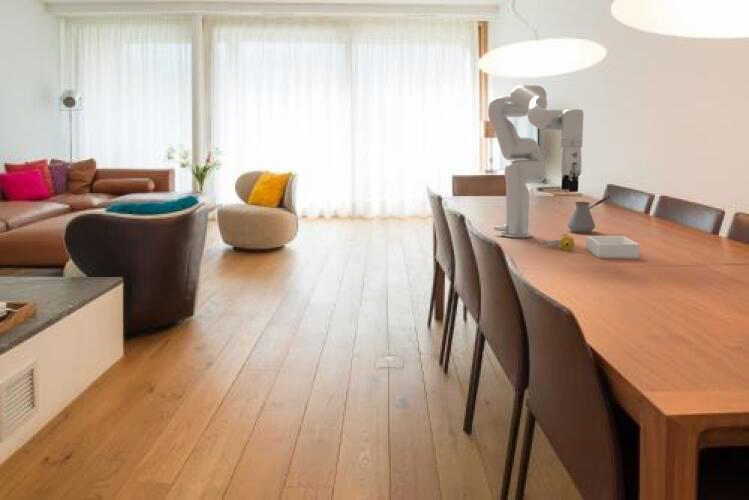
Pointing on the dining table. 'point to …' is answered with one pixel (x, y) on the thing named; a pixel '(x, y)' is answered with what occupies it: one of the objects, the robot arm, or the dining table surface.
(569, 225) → the coffee pot
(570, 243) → the pressure relief valve
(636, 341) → the dining table surface
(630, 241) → the bin
